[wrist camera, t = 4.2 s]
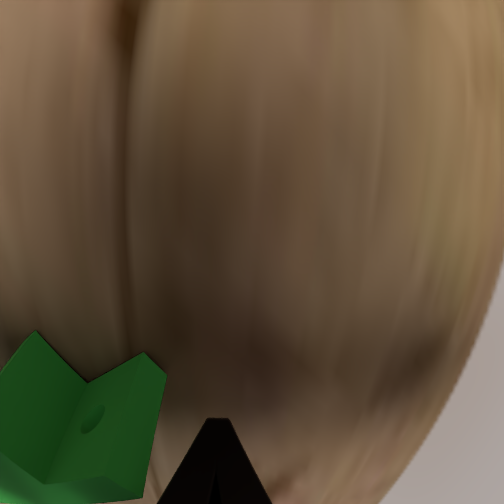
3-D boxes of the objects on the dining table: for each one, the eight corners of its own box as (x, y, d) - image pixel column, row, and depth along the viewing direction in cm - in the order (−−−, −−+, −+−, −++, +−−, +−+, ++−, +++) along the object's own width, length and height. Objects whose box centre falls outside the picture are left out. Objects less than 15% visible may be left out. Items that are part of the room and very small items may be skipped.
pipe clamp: (85, 285, 8) (4, 394, 4) (168, 372, 10) (144, 498, 5) (-30, 391, 10) (-69, 451, 6) (22, 440, 11) (-6, 504, 7)
